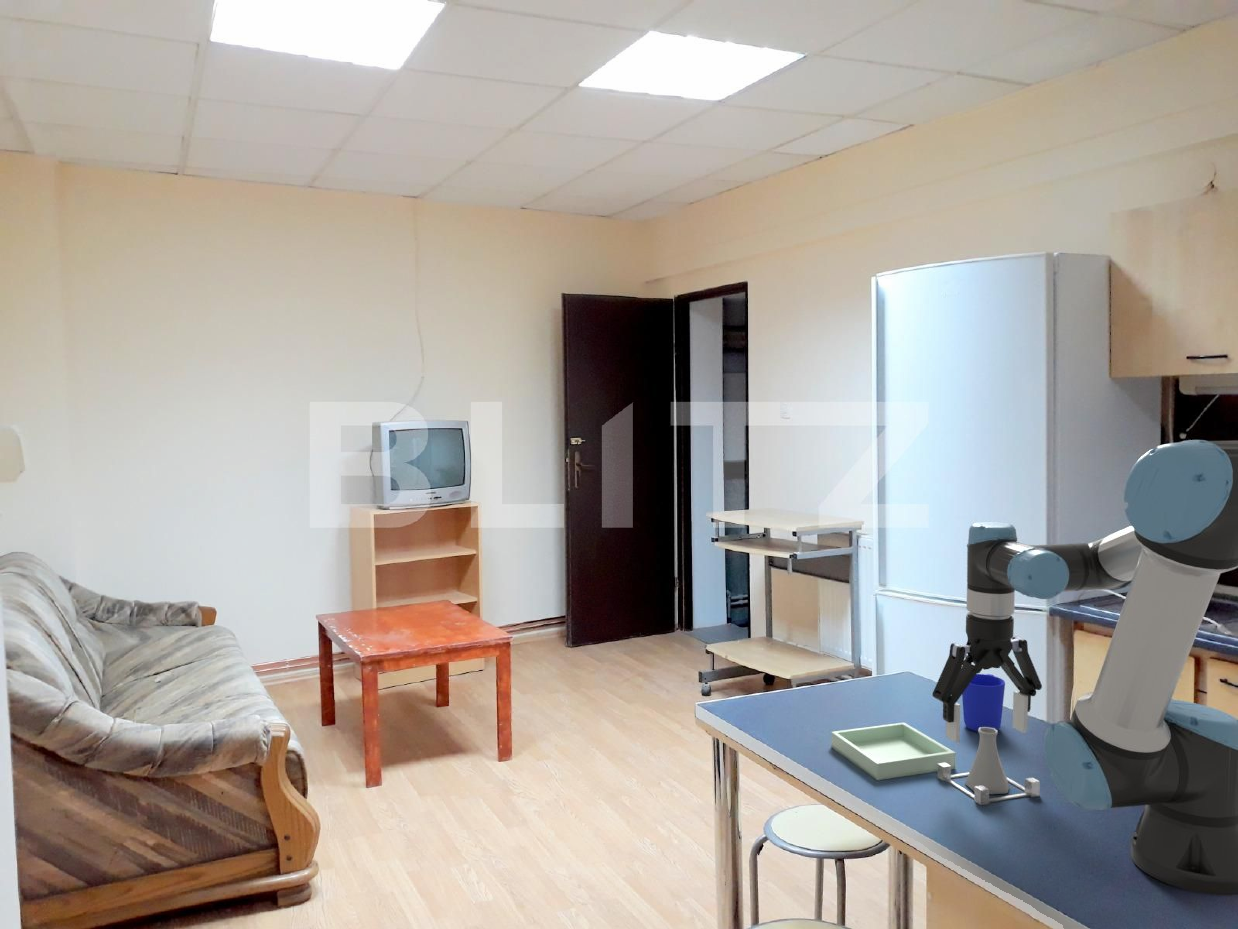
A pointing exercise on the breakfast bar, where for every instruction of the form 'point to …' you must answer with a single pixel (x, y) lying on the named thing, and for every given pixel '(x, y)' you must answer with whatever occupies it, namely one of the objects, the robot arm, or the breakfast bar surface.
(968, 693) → the mug
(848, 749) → the bin
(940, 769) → the socket
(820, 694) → the breakfast bar surface
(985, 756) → the flask
